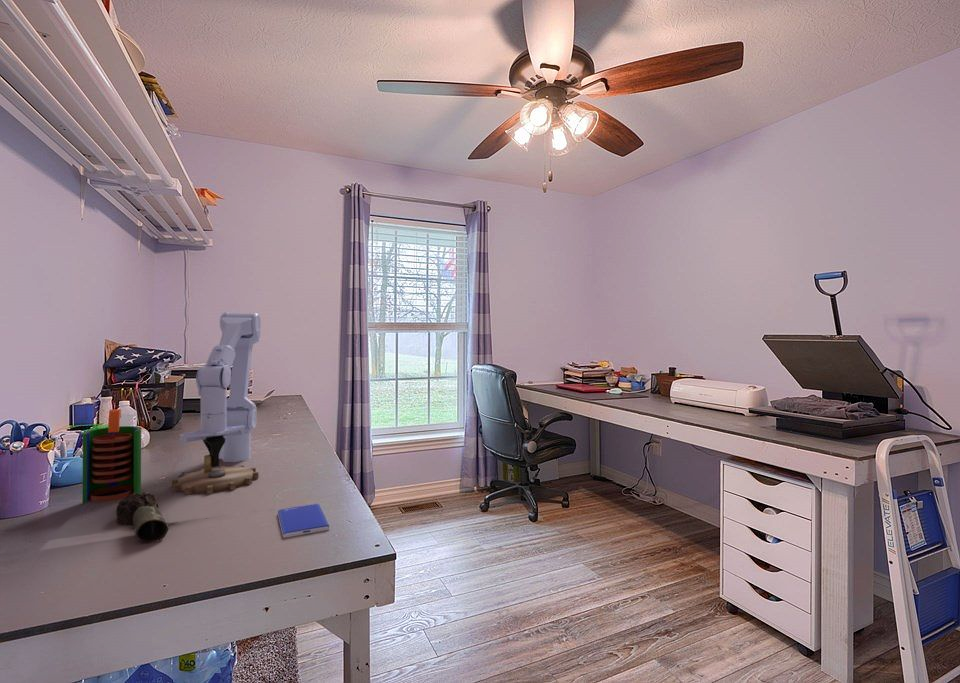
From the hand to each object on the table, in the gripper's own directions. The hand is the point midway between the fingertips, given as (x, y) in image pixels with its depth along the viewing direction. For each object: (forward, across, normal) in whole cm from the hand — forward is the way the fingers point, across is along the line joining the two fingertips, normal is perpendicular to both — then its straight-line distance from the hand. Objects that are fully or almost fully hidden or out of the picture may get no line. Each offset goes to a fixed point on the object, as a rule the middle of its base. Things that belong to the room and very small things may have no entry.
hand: (213, 466), depth 117 cm
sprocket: (+2, -1, -6) cm, 6 cm away
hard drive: (+4, +2, -42) cm, 42 cm away
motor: (+4, -20, +1) cm, 21 cm away
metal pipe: (+3, -20, -21) cm, 30 cm away
